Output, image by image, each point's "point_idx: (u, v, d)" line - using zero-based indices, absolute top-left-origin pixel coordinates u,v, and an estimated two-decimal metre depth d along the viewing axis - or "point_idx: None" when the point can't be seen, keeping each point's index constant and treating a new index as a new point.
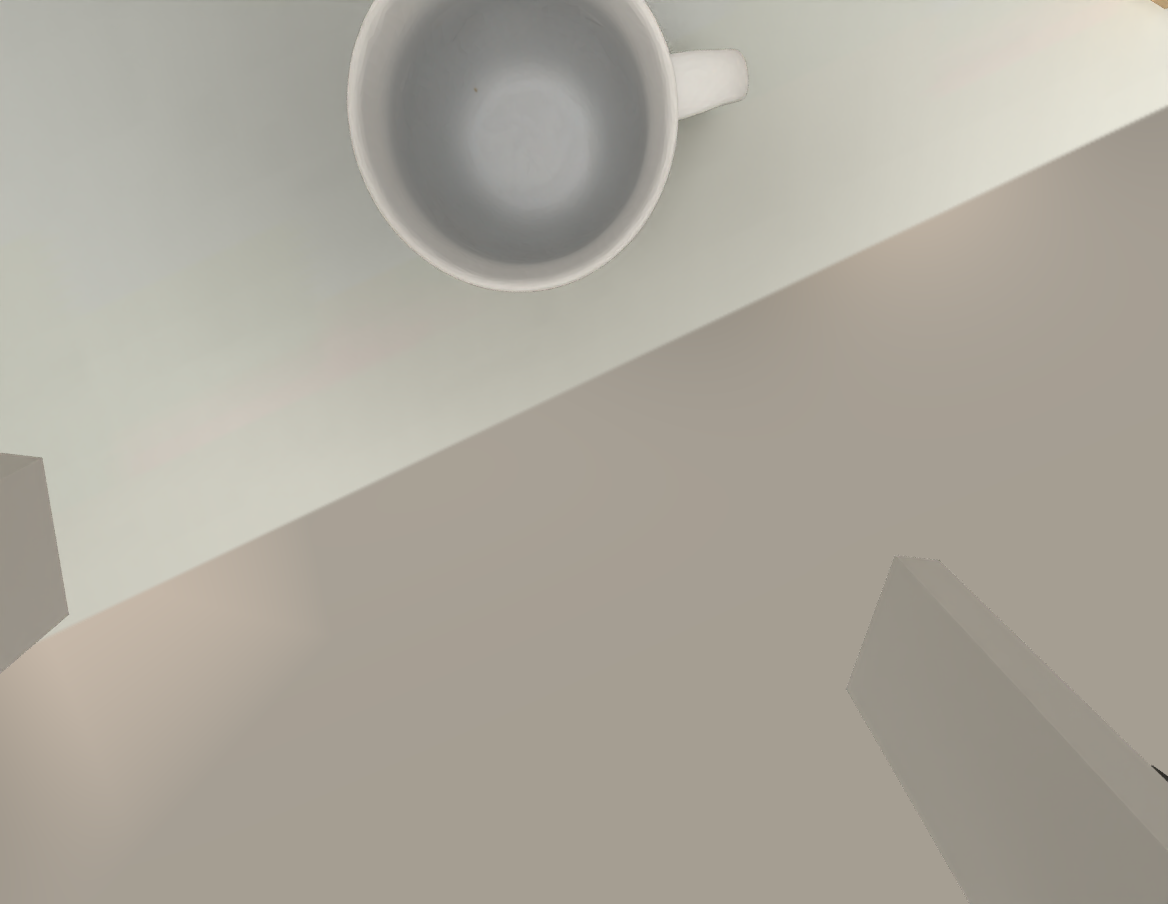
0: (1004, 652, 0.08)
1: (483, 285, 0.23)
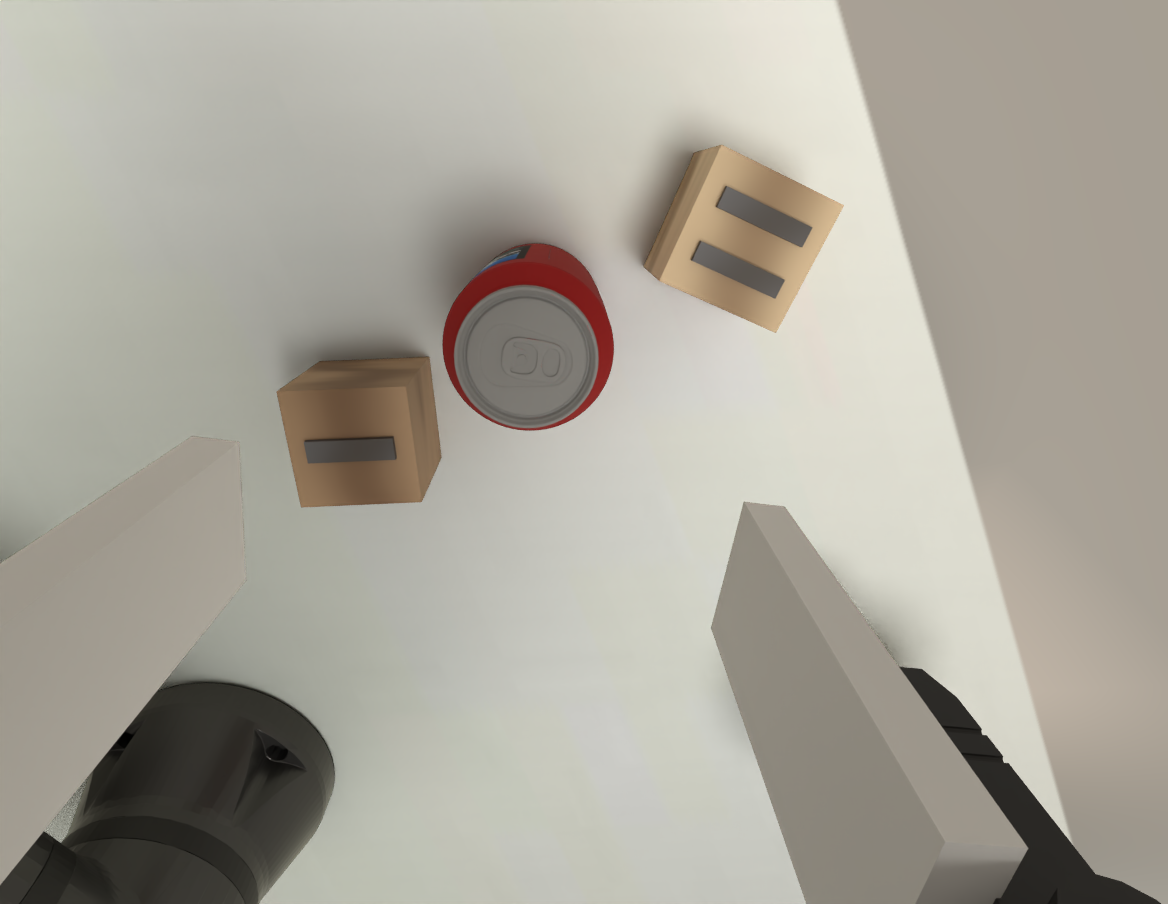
0: (806, 575, 0.09)
1: None
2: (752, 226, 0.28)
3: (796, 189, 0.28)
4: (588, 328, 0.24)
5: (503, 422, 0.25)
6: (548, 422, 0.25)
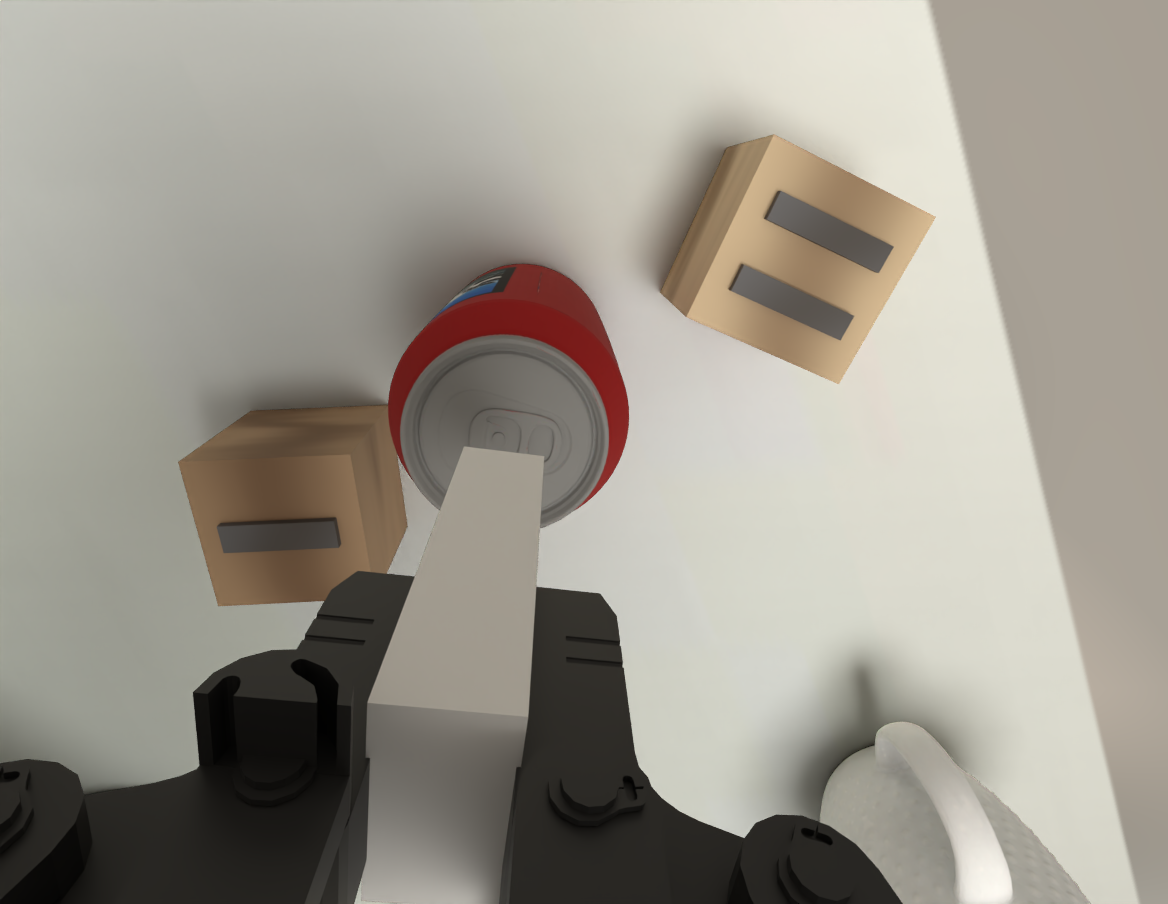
0: (511, 510, 0.10)
1: None
2: (812, 245, 0.21)
3: (873, 195, 0.21)
4: (594, 397, 0.16)
5: None
6: None
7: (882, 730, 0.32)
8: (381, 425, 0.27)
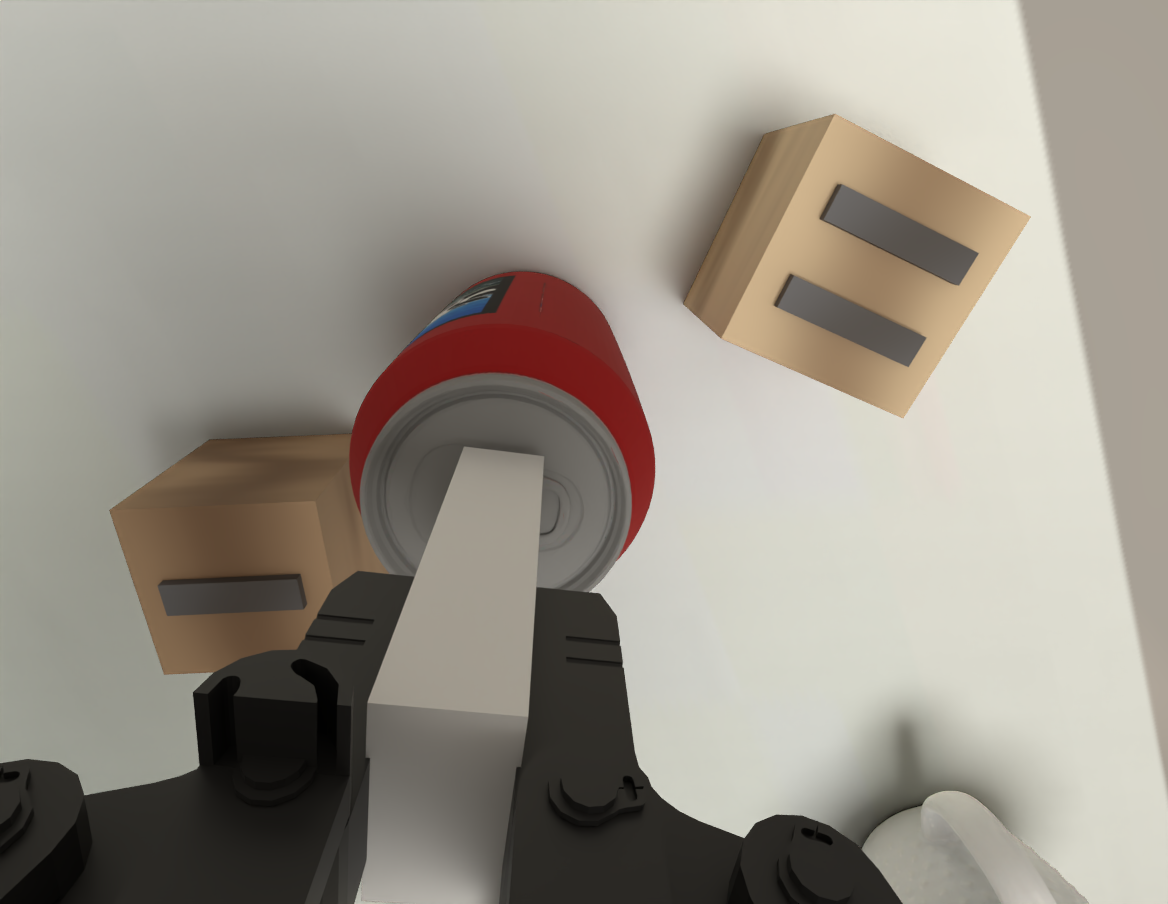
0: (511, 510, 0.10)
1: None
2: (877, 251, 0.17)
3: (955, 189, 0.17)
4: (613, 455, 0.12)
5: None
6: None
7: (932, 801, 0.28)
8: None
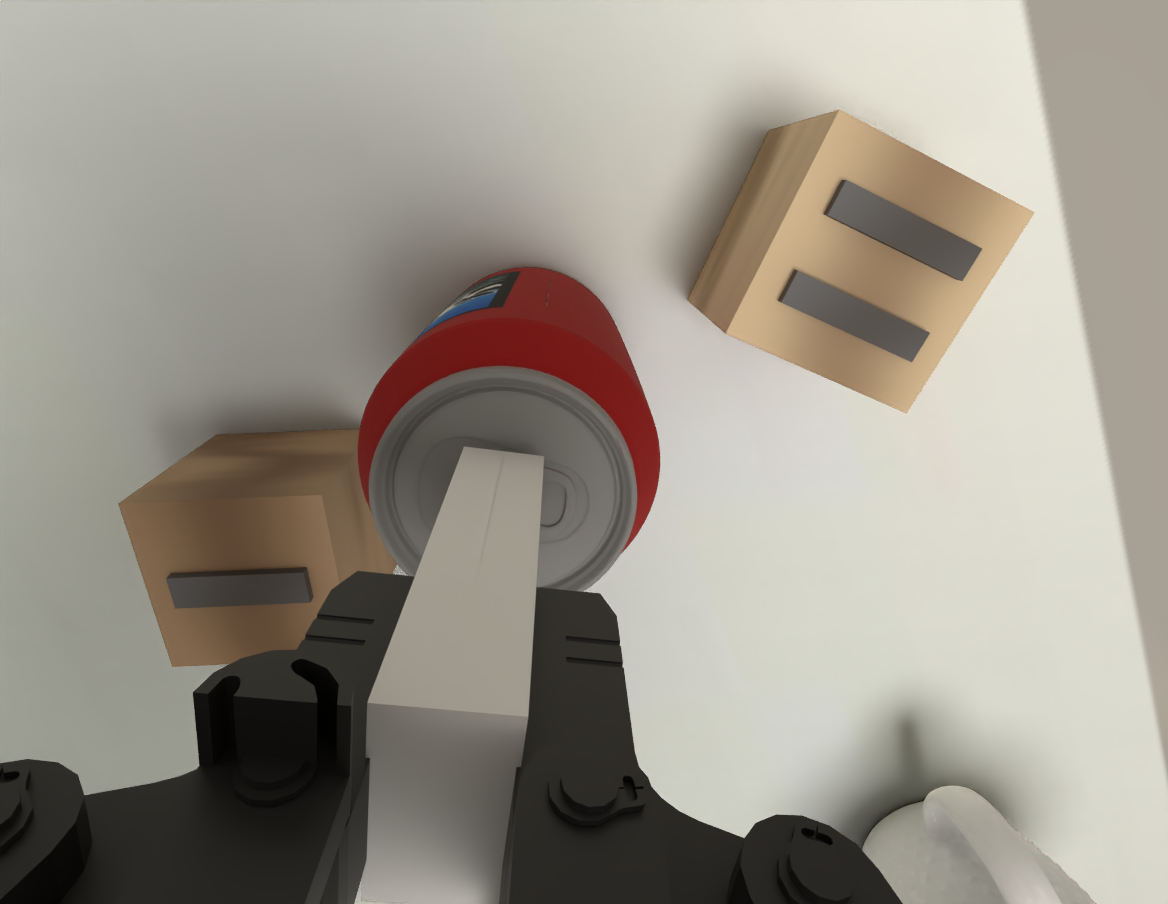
0: (511, 510, 0.10)
1: None
2: (881, 246, 0.17)
3: (959, 185, 0.17)
4: (619, 447, 0.13)
5: None
6: None
7: (934, 796, 0.28)
8: None
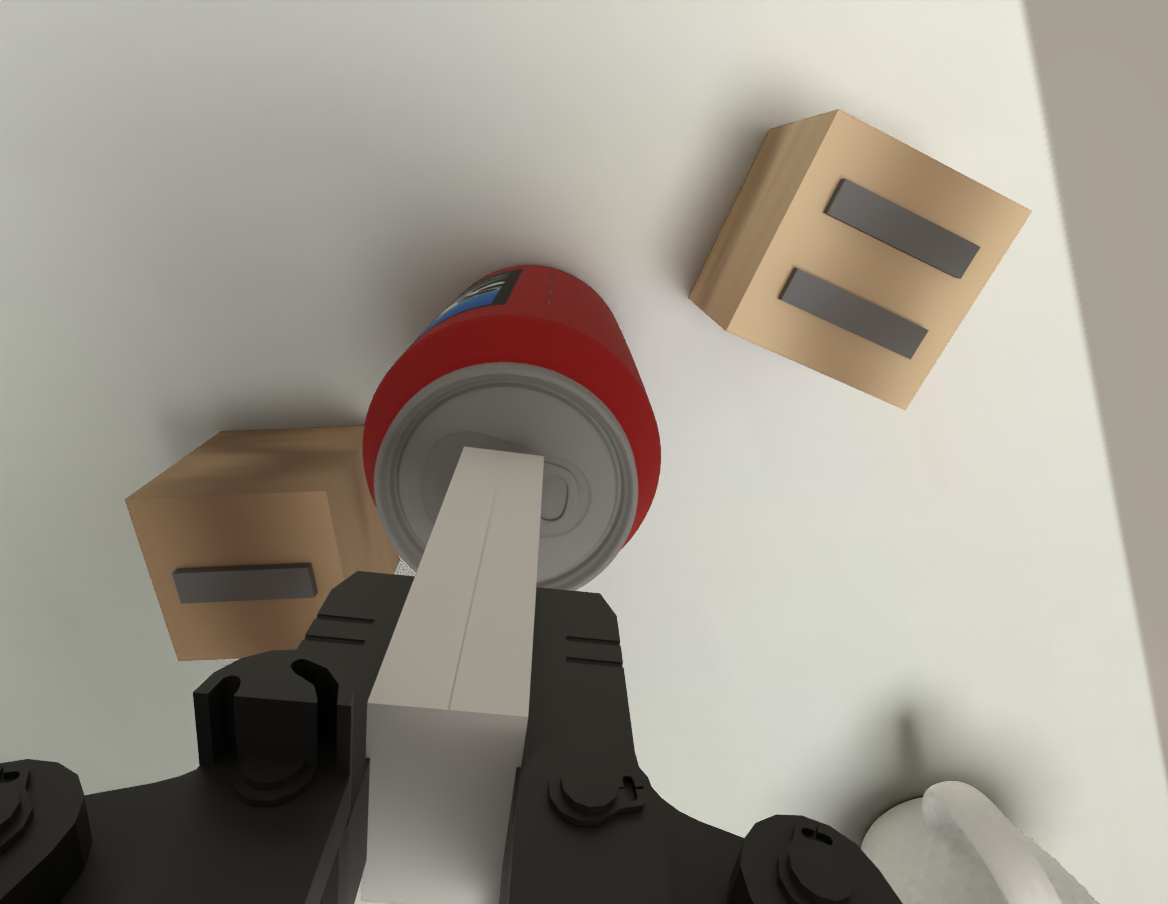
0: (511, 510, 0.10)
1: None
2: (880, 245, 0.17)
3: (957, 184, 0.17)
4: (621, 442, 0.13)
5: None
6: None
7: (933, 791, 0.28)
8: None
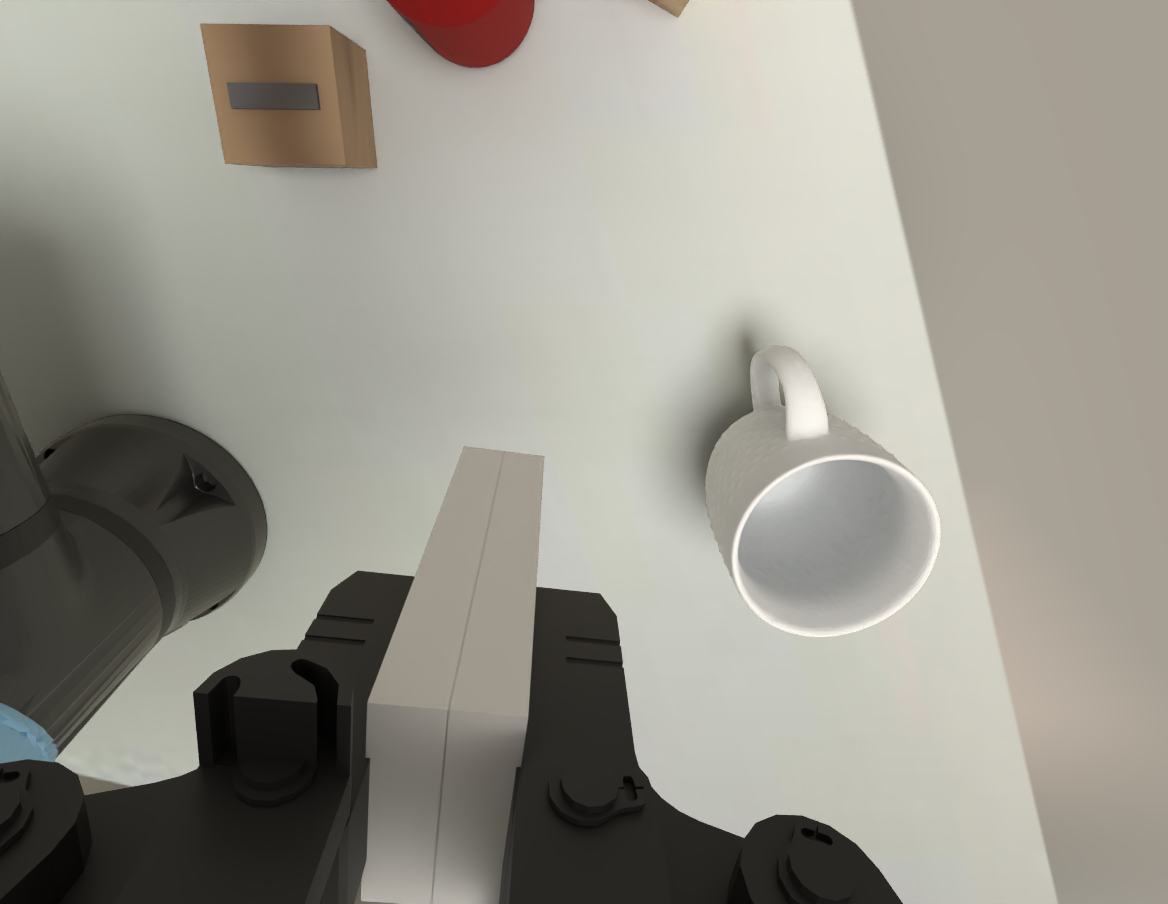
0: (511, 510, 0.10)
1: (927, 575, 0.34)
2: None
3: None
4: None
5: None
6: None
7: None
8: (357, 52, 0.35)
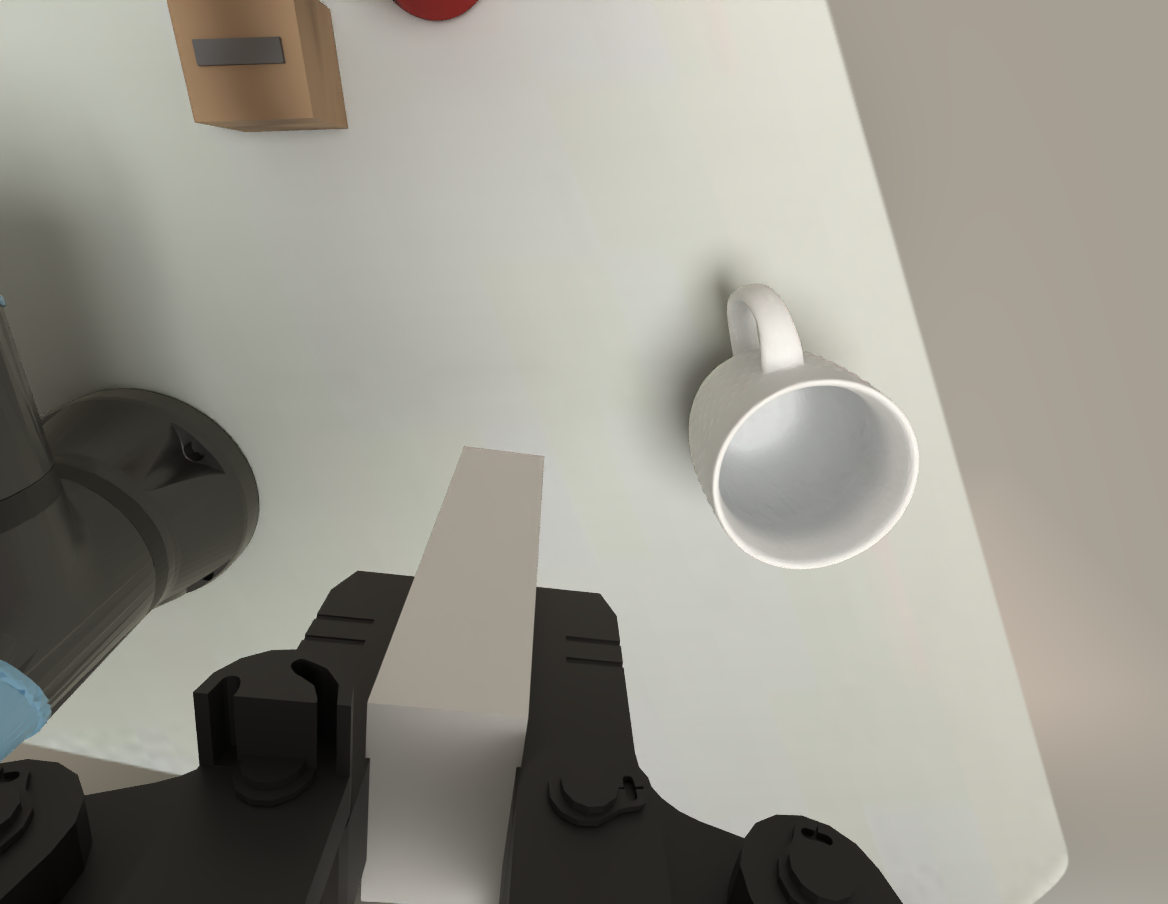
0: (511, 510, 0.10)
1: (908, 501, 0.35)
2: None
3: None
4: None
5: None
6: None
7: (728, 301, 0.40)
8: (321, 9, 0.35)
